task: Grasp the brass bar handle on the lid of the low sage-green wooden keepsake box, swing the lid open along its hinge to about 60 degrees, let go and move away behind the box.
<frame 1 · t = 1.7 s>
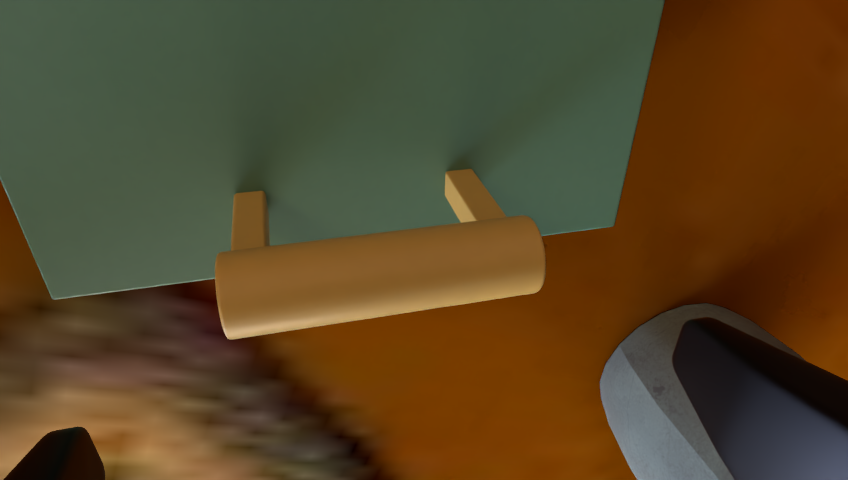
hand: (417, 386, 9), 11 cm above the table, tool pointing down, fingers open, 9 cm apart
box lid: (361, 27, 10), point 7 cm above the table, hinge at 0.0°
bottle: (668, 361, 29), on the table
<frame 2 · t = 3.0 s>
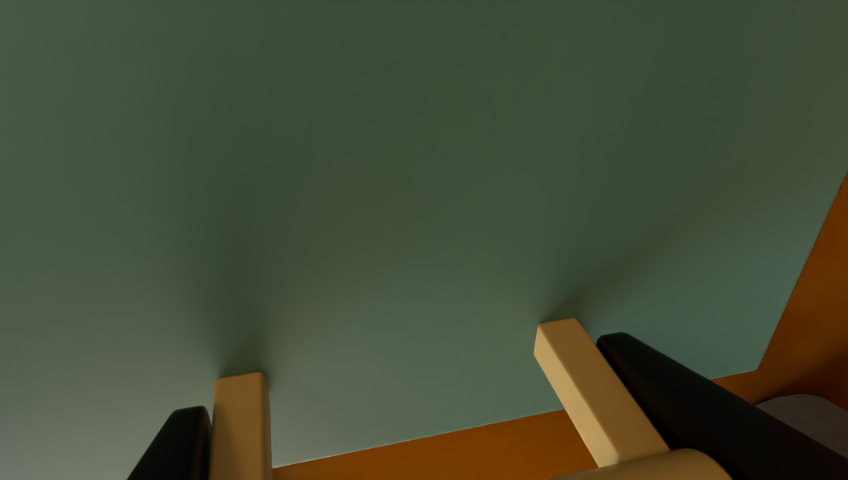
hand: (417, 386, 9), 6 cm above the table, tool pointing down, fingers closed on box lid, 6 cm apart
box lid: (446, 164, 5), point 7 cm above the table, hinge at 0.0°, touching gripper
bottle: (748, 455, 24), on the table
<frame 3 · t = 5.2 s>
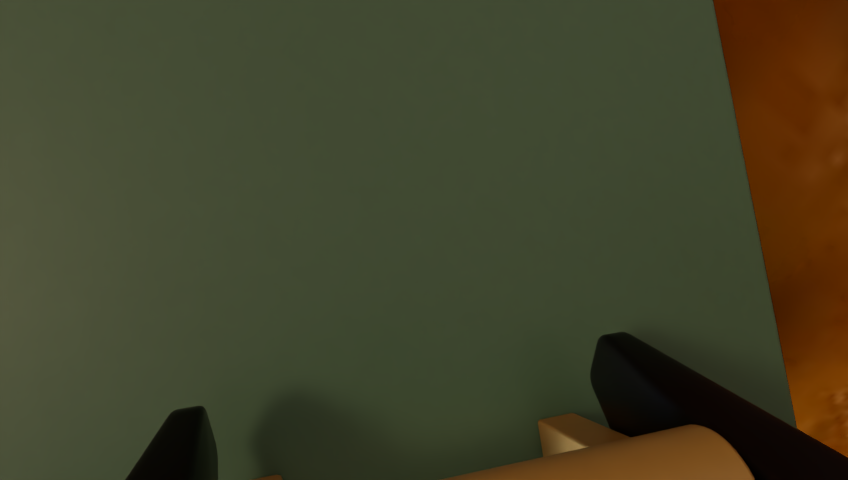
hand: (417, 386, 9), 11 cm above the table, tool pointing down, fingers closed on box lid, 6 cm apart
box lid: (396, 197, 8), point 10 cm above the table, hinge at 39.9°, touching gripper
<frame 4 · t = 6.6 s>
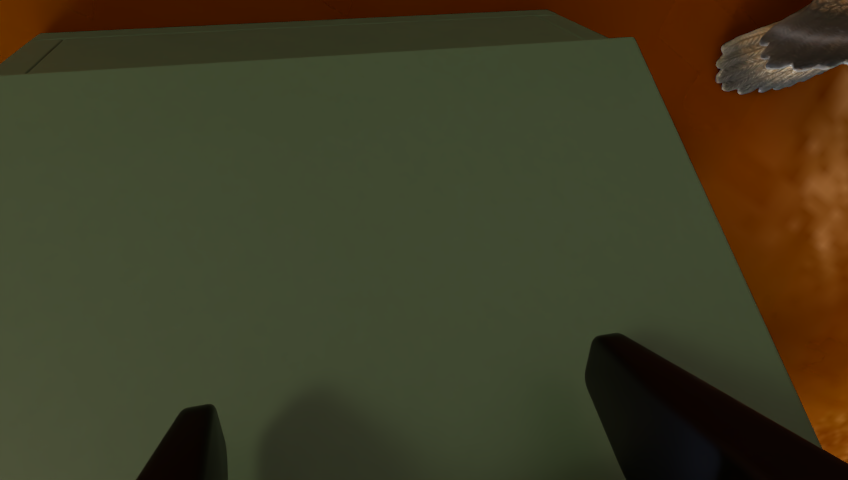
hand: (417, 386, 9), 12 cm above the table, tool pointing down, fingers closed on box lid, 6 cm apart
box lid: (401, 290, 9), point 11 cm above the table, hinge at 56.9°, touching gripper
keepsake box: (333, 195, 20), on the table
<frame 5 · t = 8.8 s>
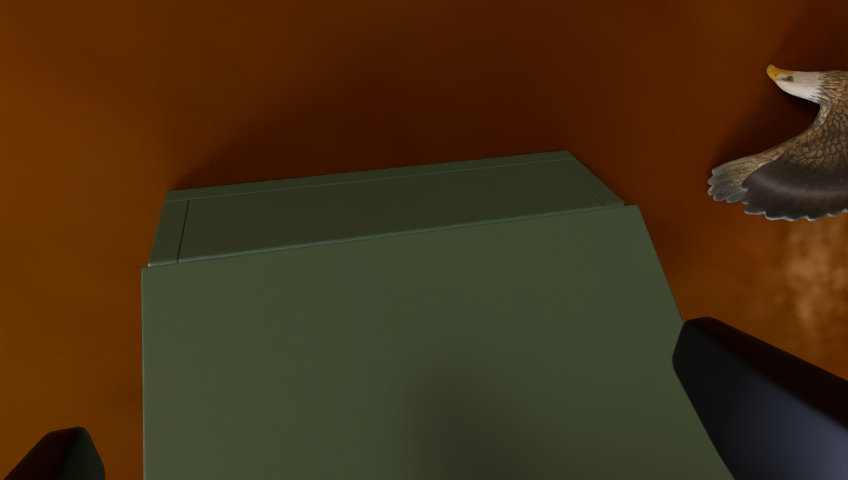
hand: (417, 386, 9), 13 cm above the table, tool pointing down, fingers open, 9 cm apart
box lid: (475, 451, 13), point 11 cm above the table, hinge at 56.9°
keepsake box: (386, 294, 24), on the table
eagle figurine: (785, 98, 24), on the table
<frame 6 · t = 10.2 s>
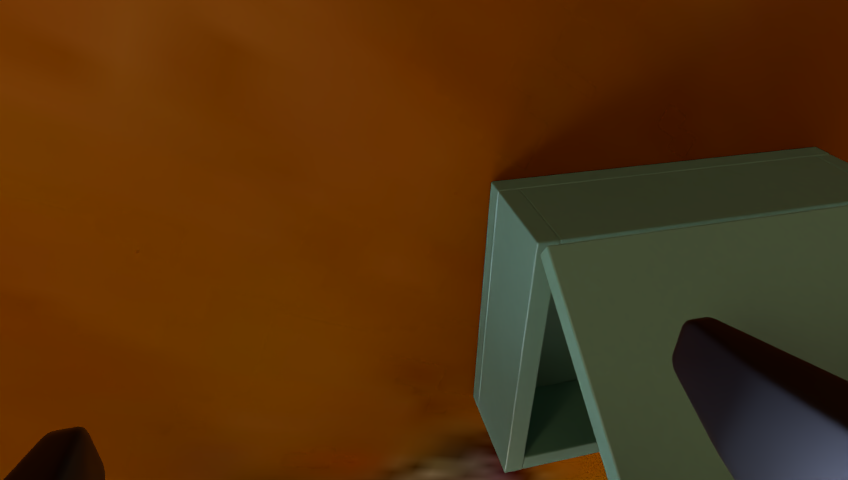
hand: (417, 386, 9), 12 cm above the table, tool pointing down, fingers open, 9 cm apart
keepsake box: (633, 279, 26), on the table
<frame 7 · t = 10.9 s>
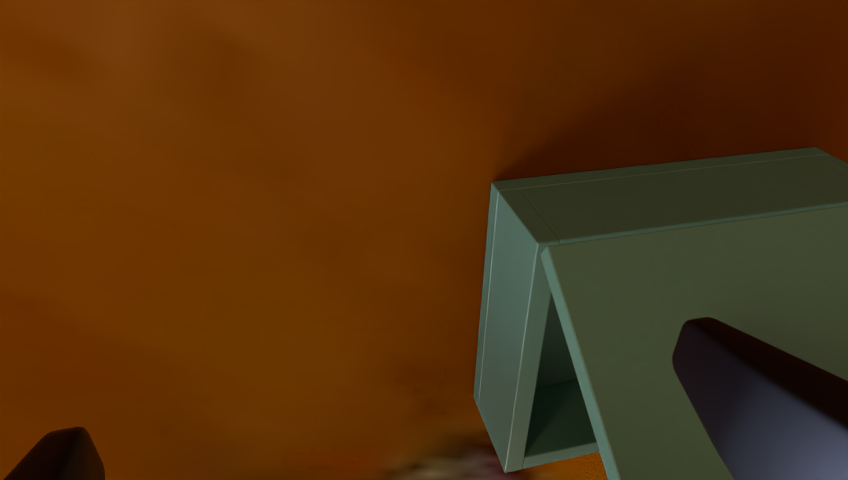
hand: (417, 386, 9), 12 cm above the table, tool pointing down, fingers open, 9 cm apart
keepsake box: (633, 279, 26), on the table
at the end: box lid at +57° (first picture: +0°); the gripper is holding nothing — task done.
